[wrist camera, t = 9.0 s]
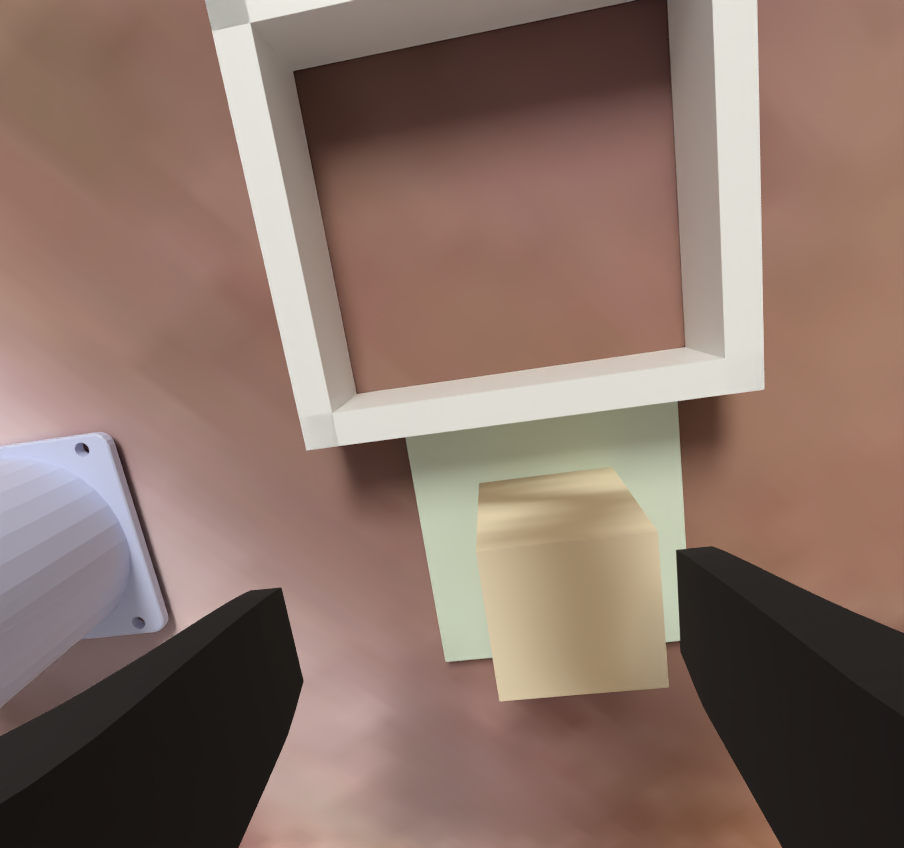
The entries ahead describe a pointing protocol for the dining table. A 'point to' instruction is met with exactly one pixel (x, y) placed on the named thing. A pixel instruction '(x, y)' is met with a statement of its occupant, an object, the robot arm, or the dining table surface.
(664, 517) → the pad
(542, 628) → the wood block
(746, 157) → the box
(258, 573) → the dining table surface
